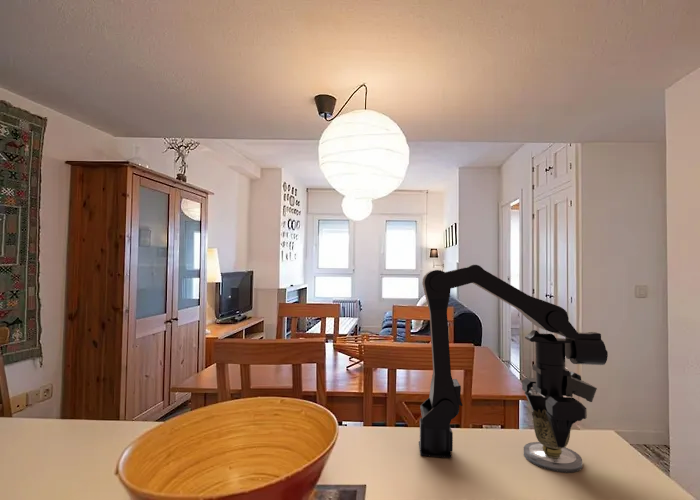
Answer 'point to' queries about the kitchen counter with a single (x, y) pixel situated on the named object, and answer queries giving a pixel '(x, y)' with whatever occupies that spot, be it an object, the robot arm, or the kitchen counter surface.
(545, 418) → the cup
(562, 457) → the gray-rimmed plate
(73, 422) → the kitchen counter surface
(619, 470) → the kitchen counter surface
